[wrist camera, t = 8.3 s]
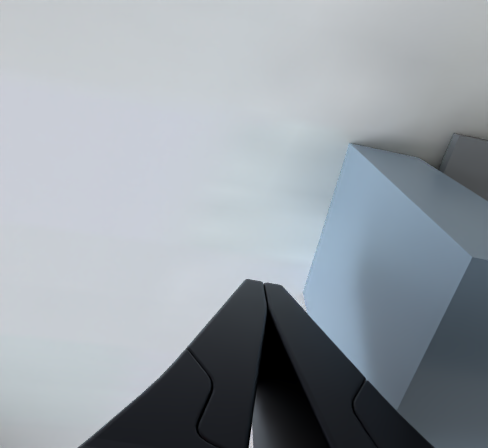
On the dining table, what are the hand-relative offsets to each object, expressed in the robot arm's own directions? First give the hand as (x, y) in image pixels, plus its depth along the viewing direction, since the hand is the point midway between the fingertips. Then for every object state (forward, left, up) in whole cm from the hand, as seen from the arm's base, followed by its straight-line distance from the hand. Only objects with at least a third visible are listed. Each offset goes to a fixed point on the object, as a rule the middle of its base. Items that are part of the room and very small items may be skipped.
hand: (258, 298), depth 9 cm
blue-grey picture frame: (0, -4, -6) cm, 7 cm away
